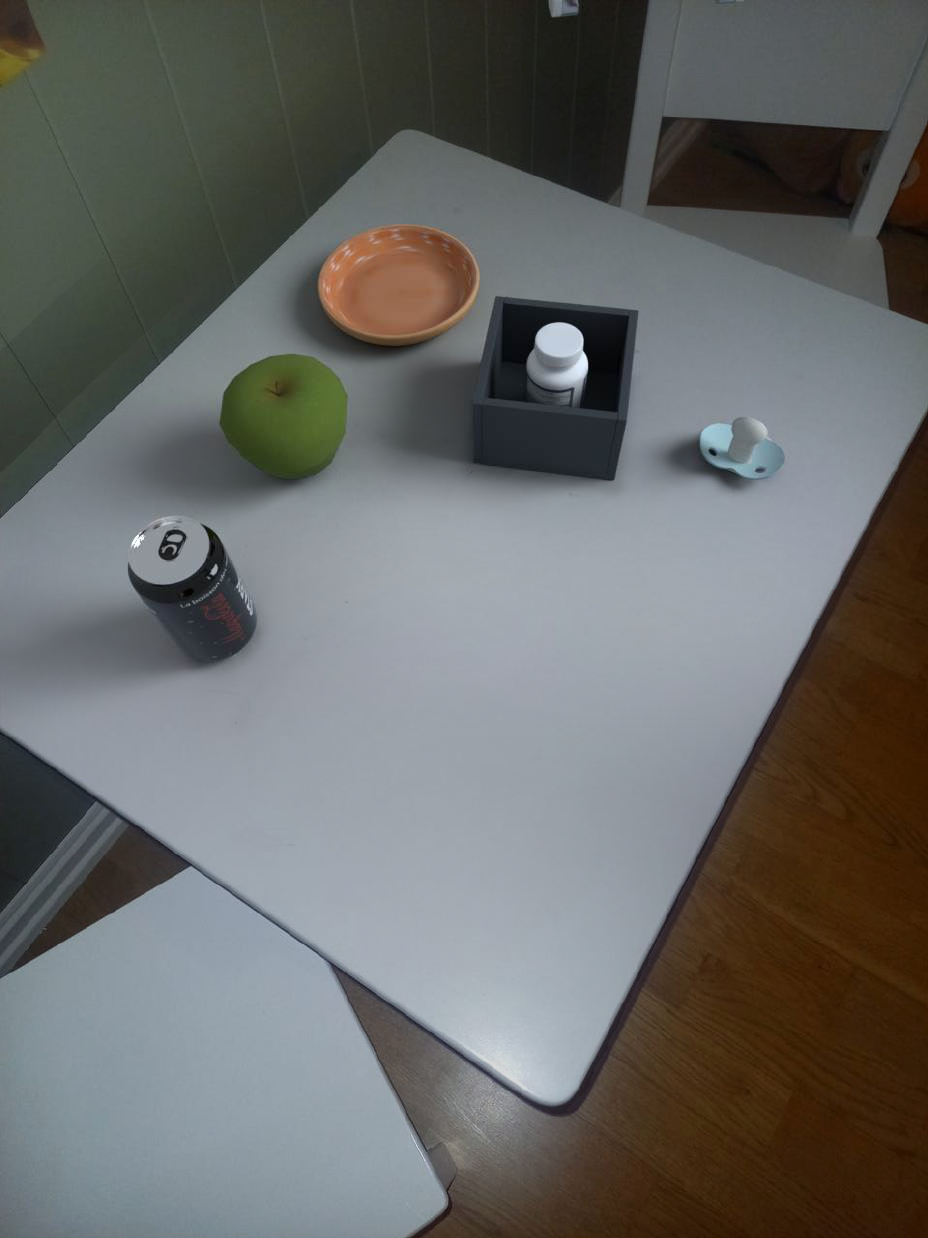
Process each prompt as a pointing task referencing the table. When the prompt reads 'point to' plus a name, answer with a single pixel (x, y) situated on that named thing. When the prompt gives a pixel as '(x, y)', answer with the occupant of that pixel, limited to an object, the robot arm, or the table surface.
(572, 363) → the pill bottle
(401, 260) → the saucer
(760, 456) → the pacifier
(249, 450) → the apple
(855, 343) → the table surface
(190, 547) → the beverage can
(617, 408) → the bin
